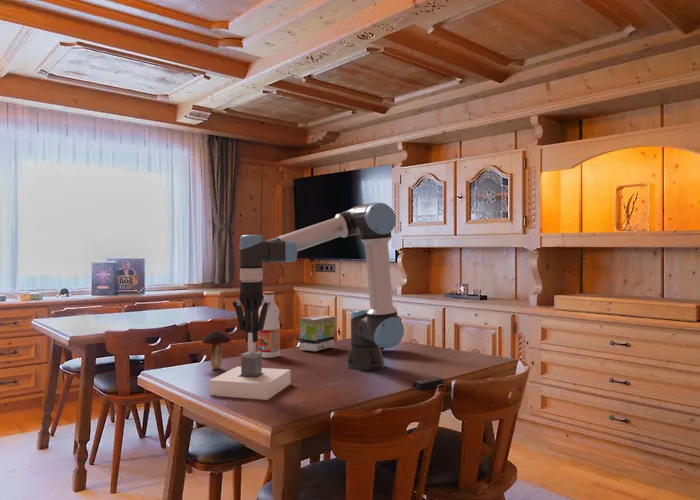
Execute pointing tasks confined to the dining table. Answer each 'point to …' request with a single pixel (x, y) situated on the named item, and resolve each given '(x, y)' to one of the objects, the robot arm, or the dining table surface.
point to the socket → (250, 384)
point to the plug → (251, 364)
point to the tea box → (317, 332)
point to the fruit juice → (270, 329)
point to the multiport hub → (427, 383)
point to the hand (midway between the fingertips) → (251, 351)
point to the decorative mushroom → (216, 347)
